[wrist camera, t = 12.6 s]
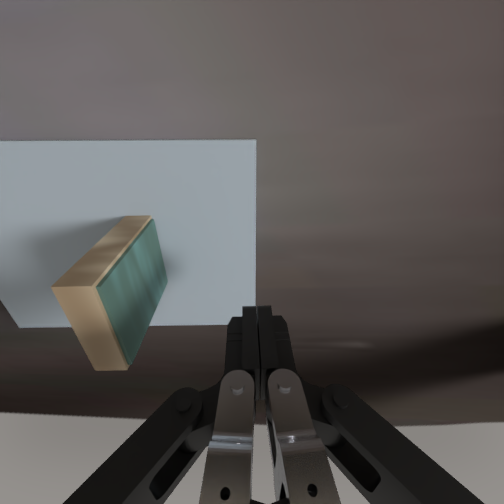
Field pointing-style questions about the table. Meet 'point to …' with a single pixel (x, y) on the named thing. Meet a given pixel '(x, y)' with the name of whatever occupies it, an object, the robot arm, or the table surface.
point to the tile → (115, 292)
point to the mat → (130, 204)
